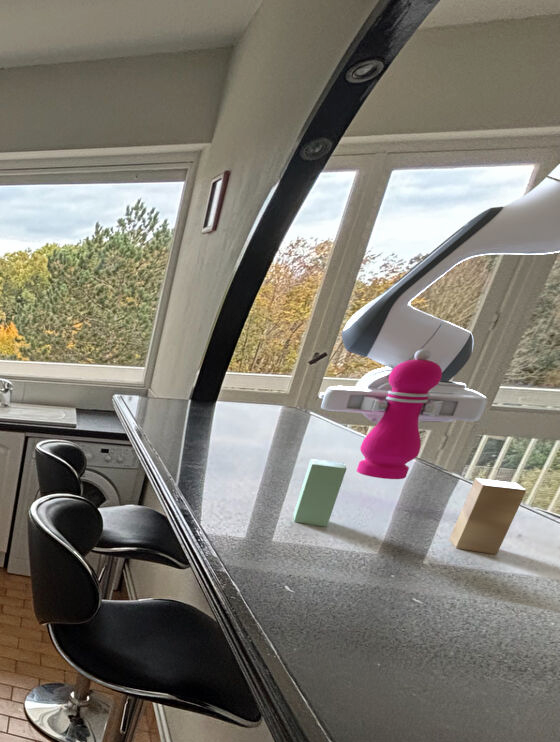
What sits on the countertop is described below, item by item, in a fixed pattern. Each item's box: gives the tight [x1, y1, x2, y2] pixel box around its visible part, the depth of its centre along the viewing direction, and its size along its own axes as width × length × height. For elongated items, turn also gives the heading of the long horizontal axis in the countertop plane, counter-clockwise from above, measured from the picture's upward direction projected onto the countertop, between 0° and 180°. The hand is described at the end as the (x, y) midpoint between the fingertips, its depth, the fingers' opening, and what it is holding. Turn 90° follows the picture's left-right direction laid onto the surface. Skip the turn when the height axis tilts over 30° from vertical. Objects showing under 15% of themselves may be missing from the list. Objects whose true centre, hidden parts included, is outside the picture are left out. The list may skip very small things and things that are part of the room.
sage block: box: [292, 458, 347, 528], centre depth 88 cm, size 4×4×9 cm
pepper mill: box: [356, 349, 442, 480], centre depth 94 cm, size 7×7×20 cm
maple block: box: [449, 477, 527, 556], centre depth 79 cm, size 4×4×9 cm
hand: (405, 408), depth 93 cm, fingers closed on pepper mill, 4 cm apart
